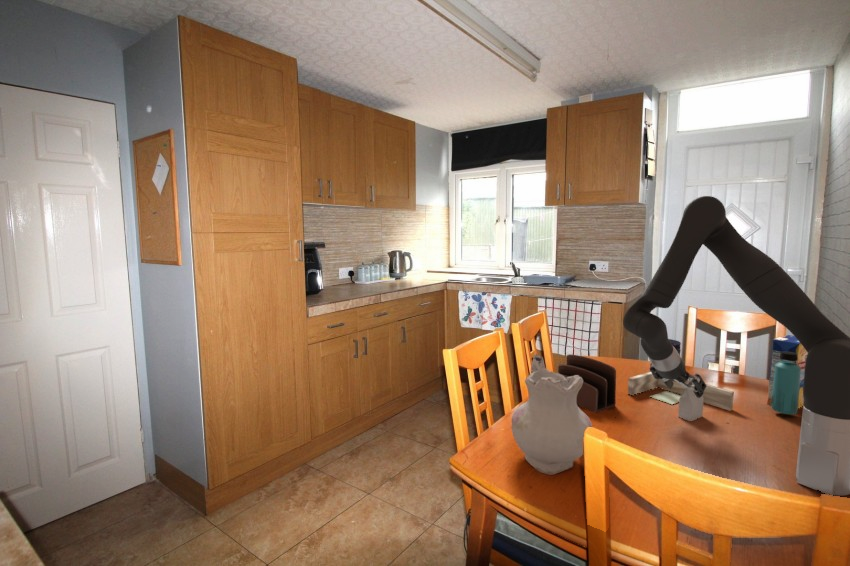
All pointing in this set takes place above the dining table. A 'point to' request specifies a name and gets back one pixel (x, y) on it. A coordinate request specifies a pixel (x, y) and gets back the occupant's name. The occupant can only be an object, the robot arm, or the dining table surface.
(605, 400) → the letter holder
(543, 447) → the ceramic pitcher
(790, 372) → the beverage bottle
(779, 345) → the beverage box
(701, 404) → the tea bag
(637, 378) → the beige l-shaped piece
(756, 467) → the dining table surface
